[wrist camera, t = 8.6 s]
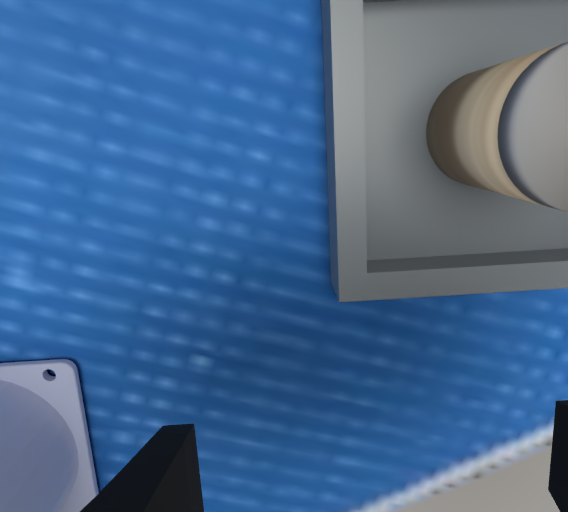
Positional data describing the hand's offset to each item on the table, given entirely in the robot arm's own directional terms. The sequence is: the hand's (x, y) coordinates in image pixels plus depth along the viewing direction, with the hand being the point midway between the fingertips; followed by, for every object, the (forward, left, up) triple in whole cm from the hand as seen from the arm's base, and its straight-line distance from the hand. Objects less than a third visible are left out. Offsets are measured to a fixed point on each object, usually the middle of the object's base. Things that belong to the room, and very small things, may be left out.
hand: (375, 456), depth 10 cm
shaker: (+6, +6, -10) cm, 13 cm away
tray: (+6, +6, -10) cm, 13 cm away
